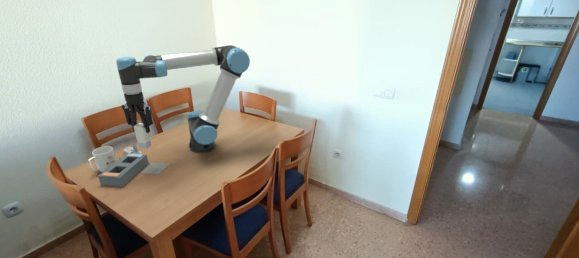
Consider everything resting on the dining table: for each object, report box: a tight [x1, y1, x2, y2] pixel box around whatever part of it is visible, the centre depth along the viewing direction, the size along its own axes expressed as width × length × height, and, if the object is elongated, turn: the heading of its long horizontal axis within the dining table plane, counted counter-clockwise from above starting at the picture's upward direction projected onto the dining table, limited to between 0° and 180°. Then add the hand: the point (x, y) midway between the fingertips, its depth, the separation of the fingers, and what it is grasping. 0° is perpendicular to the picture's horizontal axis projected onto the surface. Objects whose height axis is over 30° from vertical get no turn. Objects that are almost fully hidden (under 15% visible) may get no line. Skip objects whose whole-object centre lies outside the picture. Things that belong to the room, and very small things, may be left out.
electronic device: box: [123, 141, 143, 155], centre depth 152 cm, size 5×10×15 cm
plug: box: [134, 122, 152, 150], centre depth 131 cm, size 4×4×12 cm
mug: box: [87, 145, 118, 173], centre depth 137 cm, size 12×9×11 cm
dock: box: [97, 153, 150, 188], centre depth 135 cm, size 11×21×6 cm, turn 174°
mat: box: [140, 162, 169, 175], centre depth 141 cm, size 10×10×1 cm
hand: (143, 137), depth 132 cm, fingers closed on plug, 4 cm apart
